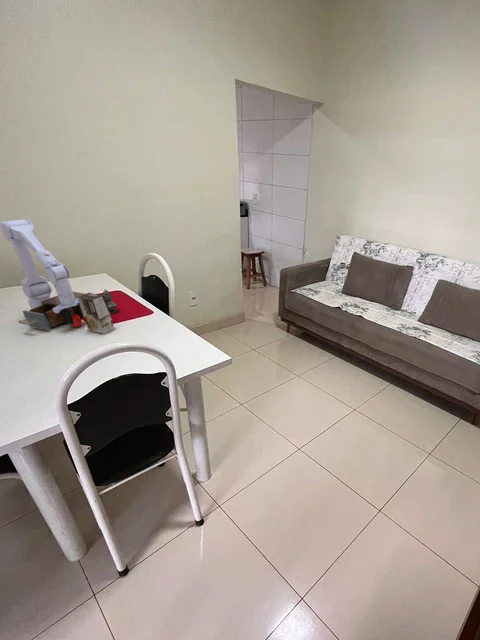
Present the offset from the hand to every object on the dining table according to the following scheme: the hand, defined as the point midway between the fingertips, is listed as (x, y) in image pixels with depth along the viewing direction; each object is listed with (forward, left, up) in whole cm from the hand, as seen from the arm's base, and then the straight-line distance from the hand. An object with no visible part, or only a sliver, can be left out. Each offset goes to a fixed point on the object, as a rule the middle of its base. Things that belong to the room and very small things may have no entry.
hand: (75, 321), depth 150 cm
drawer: (-12, -4, -1) cm, 13 cm away
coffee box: (+13, +1, -2) cm, 13 cm away
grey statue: (+2, +19, -2) cm, 19 cm away
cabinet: (-12, +8, -2) cm, 15 cm away
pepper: (0, 0, -1) cm, 1 cm away
